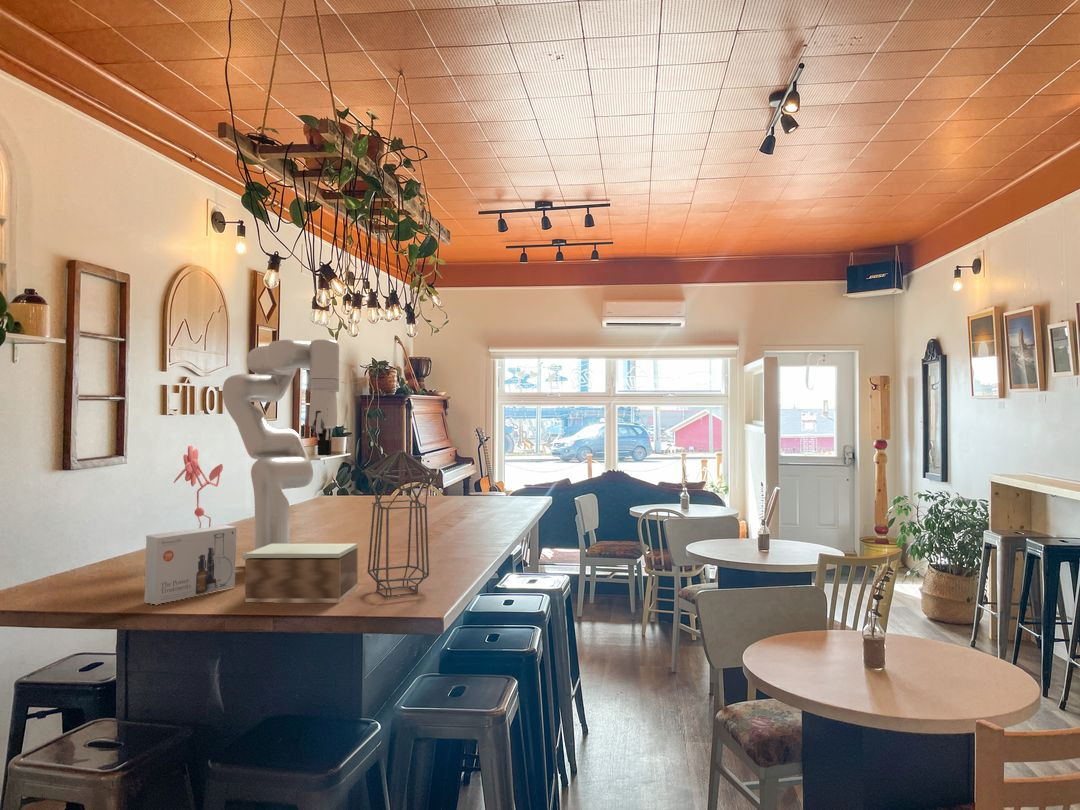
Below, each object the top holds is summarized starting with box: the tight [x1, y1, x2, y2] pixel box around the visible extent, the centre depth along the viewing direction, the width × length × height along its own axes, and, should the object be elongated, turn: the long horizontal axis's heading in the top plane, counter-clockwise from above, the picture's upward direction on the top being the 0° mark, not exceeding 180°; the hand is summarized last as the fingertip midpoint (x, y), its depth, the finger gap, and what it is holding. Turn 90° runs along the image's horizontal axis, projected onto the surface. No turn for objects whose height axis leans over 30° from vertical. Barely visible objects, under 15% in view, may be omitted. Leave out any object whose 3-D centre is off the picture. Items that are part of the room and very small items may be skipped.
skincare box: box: [143, 524, 238, 605], centre depth 180 cm, size 21×5×16 cm, turn 148°
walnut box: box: [244, 548, 359, 604], centre depth 181 cm, size 22×16×10 cm
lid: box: [245, 543, 359, 558], centre depth 181 cm, size 22×16×1 cm
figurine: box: [173, 444, 224, 529], centre depth 224 cm, size 15×26×35 cm, turn 5°
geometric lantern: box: [360, 450, 439, 598], centre depth 182 cm, size 16×16×35 cm
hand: (324, 455), depth 197 cm, fingers closed
